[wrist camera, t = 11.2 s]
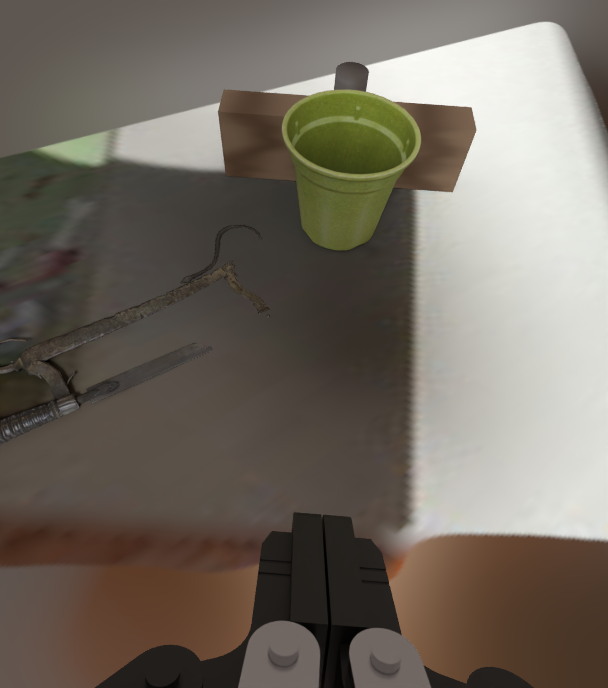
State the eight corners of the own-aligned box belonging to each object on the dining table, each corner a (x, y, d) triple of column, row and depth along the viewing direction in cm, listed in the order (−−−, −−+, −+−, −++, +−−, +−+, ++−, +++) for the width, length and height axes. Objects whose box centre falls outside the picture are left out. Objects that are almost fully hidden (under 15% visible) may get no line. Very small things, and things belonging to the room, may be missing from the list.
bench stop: (225, 175, 42) (213, 72, 34) (230, 154, 43) (219, 50, 36) (452, 192, 42) (490, 92, 34) (449, 169, 43) (485, 69, 36)
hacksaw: (-37, 471, 28) (-52, 463, 27) (-66, 341, 32) (-80, 329, 31) (313, 310, 35) (314, 298, 34) (250, 221, 40) (248, 208, 38)
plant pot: (400, 195, 41) (426, 100, 34) (389, 278, 36) (416, 186, 29) (295, 178, 42) (297, 80, 35) (270, 256, 37) (266, 162, 30)
